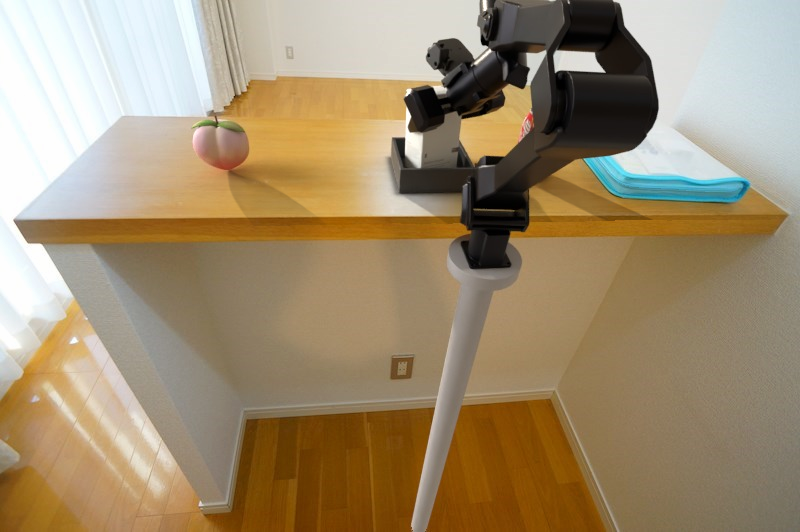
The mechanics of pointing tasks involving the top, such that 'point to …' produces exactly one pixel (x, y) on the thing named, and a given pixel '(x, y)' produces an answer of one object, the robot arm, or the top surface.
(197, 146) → the decorative fruit
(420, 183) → the shallow grey tray
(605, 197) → the top surface
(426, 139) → the cosmetic box
